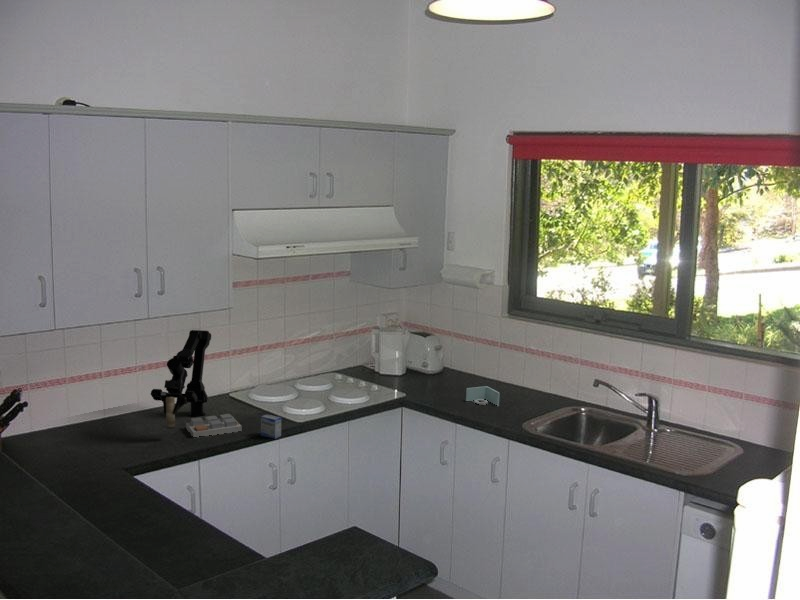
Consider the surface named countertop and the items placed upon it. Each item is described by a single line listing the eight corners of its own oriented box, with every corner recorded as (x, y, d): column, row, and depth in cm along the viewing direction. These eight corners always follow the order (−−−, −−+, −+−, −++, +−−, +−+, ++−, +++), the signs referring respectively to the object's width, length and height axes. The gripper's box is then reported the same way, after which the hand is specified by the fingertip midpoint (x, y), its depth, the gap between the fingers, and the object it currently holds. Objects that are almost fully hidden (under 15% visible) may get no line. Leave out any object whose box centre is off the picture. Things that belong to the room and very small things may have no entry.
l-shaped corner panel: (465, 402, 414) (466, 388, 412) (486, 400, 419) (487, 386, 418) (477, 409, 403) (478, 395, 402) (498, 407, 408) (499, 392, 407)
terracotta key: (194, 431, 357) (194, 425, 357) (204, 430, 359) (204, 424, 359) (197, 434, 353) (197, 429, 353) (207, 433, 355) (207, 427, 355)
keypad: (186, 428, 363) (186, 418, 362) (232, 422, 373) (232, 412, 372) (193, 438, 352) (193, 427, 351) (241, 431, 361) (241, 421, 361)
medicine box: (260, 435, 357) (260, 416, 356) (266, 432, 361) (266, 413, 359) (275, 439, 354) (275, 419, 352) (281, 436, 357) (281, 416, 356)
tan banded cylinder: (165, 426, 349) (164, 397, 347) (174, 425, 351) (173, 396, 348) (167, 429, 346) (166, 399, 344) (175, 428, 348) (175, 398, 345)
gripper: (151, 370, 349) (141, 403, 340) (194, 373, 347) (185, 406, 338) (159, 383, 358) (149, 415, 349) (201, 385, 356) (192, 418, 348)
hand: (169, 413), depth 346 cm, fingers closed on tan banded cylinder, 3 cm apart
